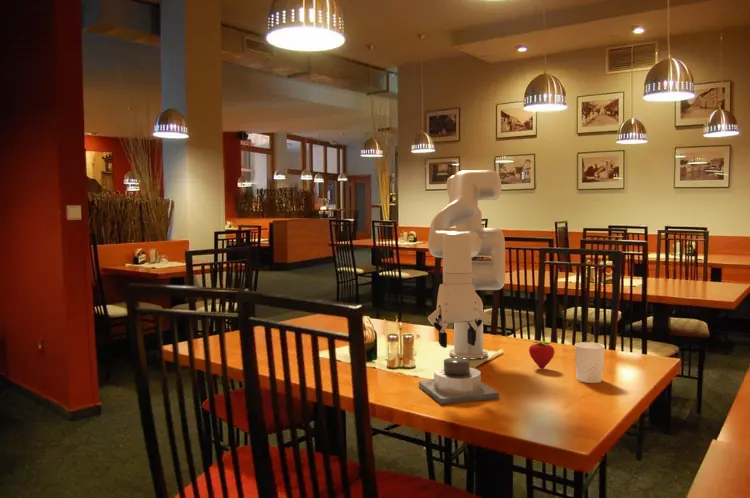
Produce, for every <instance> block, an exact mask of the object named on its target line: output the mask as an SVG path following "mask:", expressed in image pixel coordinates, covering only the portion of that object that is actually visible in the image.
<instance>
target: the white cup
mask: <svg viewBox="0 0 750 498" xmlns="http://www.w3.org/2000/svg"><path fill="white" fill-rule="evenodd" d="M574 353H575V354H574V357H575V359H574V360H575V369H576V370H575V372H576V375H575V377H576V380H577V381H578V382H582V383H586V384H587V383H588V384H598V383H601V382H602V381H603V371H604V364H605V363H604V360H605V345H604V344H602V343H599V342H592V341H591V342H589V341H584V342H583V341H580V342H576V343H574Z"/></svg>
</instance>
